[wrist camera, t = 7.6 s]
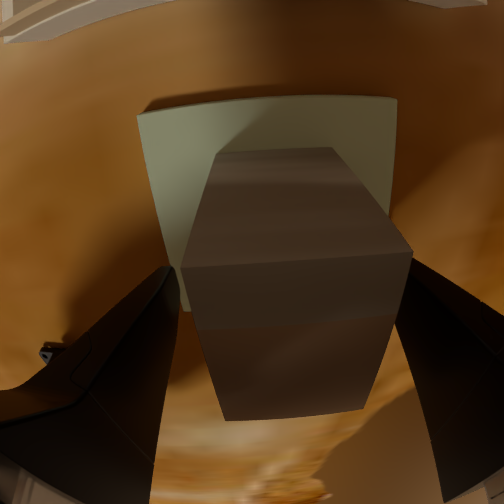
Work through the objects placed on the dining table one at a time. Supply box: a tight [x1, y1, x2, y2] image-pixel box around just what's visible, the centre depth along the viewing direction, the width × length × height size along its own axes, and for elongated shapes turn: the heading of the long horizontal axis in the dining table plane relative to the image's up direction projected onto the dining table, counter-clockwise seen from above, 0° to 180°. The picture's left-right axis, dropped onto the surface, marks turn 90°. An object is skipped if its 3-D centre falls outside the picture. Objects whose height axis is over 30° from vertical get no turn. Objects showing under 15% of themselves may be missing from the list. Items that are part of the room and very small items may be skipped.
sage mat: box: [137, 95, 397, 312], centre depth 12 cm, size 9×9×1 cm
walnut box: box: [180, 147, 413, 421], centre depth 9 cm, size 6×4×6 cm
